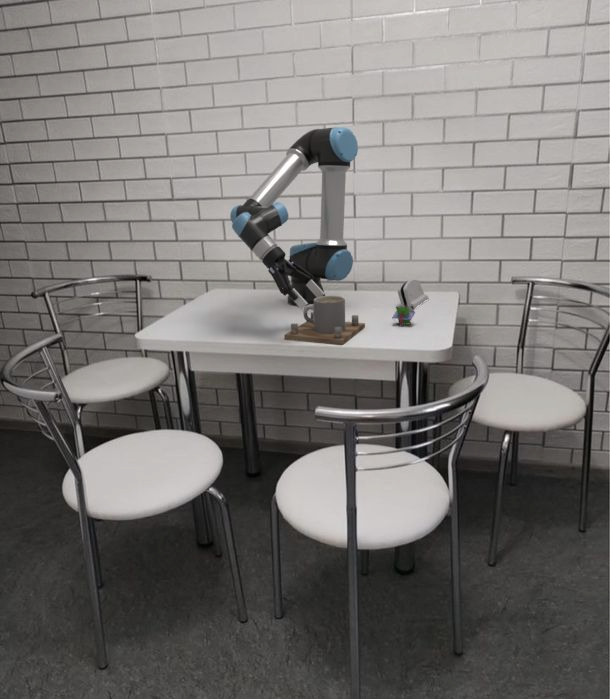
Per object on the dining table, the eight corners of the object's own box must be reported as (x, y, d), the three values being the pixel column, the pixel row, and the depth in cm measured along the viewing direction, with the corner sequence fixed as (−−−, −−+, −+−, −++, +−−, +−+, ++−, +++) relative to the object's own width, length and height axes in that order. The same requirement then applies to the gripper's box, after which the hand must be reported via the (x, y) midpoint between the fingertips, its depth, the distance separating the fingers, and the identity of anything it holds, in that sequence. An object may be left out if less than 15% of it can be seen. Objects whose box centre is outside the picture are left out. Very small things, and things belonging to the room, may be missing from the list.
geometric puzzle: (407, 323, 197) (413, 301, 199) (388, 321, 200) (393, 299, 202) (413, 331, 203) (418, 309, 205) (394, 329, 206) (399, 308, 208)
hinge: (414, 309, 222) (406, 283, 221) (403, 312, 225) (394, 287, 223) (429, 299, 236) (421, 275, 235) (418, 302, 238) (410, 278, 237)
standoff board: (310, 323, 210) (310, 310, 209) (364, 327, 202) (364, 314, 201) (284, 339, 193) (283, 325, 192) (342, 344, 185) (342, 330, 184)
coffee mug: (348, 325, 200) (348, 296, 197) (340, 334, 191) (339, 303, 188) (310, 323, 204) (309, 294, 201) (300, 332, 195) (299, 301, 192)
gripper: (280, 254, 209) (321, 299, 208) (243, 268, 188) (289, 318, 186) (293, 239, 205) (335, 285, 204) (257, 251, 184) (304, 303, 182)
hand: (313, 301), depth 195 cm, fingers open, 13 cm apart
